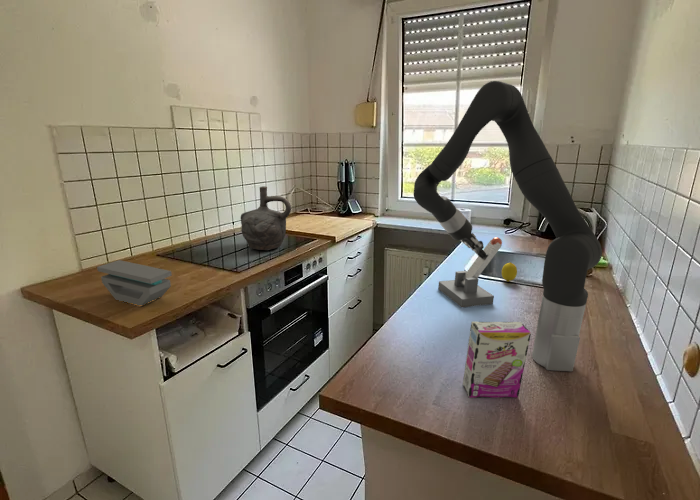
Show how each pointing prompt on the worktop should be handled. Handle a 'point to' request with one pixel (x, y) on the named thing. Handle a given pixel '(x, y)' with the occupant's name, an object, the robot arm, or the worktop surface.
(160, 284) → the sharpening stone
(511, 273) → the lemon
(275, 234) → the vessel
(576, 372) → the worktop surface
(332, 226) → the worktop surface
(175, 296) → the worktop surface
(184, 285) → the worktop surface
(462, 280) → the lever
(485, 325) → the candy bar box
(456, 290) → the lever stand
